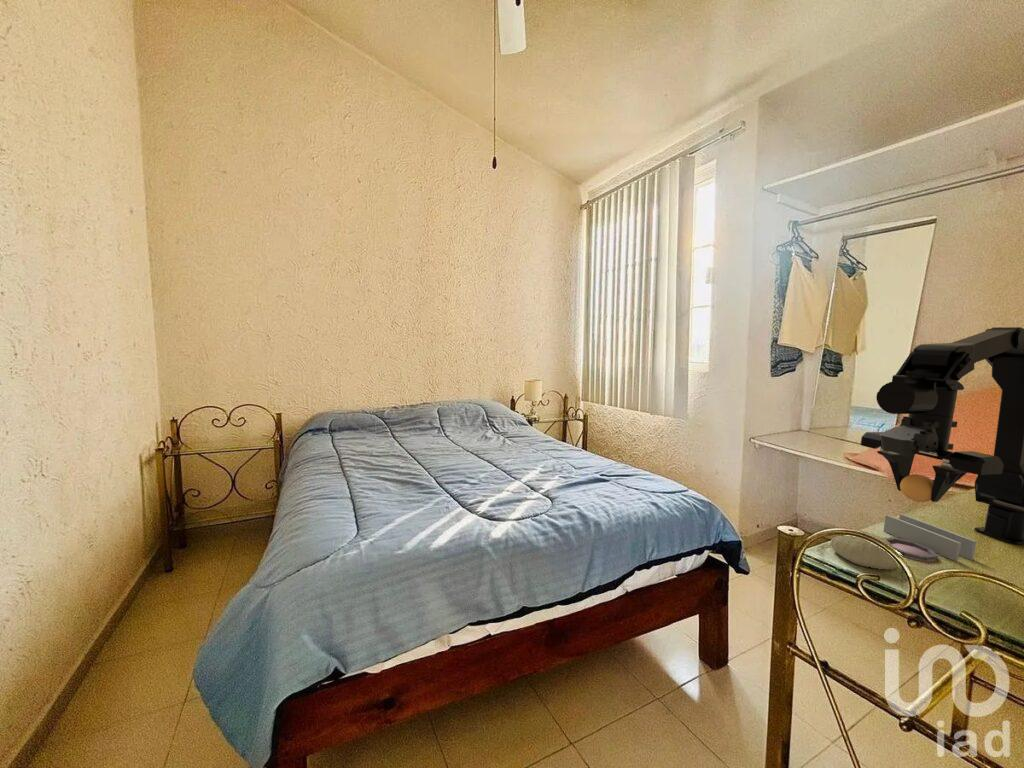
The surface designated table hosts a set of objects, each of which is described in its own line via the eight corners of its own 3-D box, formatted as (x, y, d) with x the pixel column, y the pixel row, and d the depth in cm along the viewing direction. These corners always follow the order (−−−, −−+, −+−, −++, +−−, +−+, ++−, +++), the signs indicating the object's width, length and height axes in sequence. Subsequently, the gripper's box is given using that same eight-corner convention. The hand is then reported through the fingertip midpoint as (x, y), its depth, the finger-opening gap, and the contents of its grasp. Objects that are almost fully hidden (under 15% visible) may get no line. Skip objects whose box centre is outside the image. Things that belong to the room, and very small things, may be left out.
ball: (910, 495, 81) (914, 470, 81) (942, 505, 76) (946, 479, 76) (891, 496, 80) (895, 471, 79) (922, 507, 75) (926, 480, 74)
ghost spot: (900, 539, 84) (900, 536, 84) (947, 559, 76) (947, 555, 76) (871, 542, 82) (871, 538, 82) (916, 563, 75) (917, 559, 74)
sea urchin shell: (846, 532, 82) (885, 516, 76) (875, 574, 77) (919, 561, 71) (815, 538, 78) (853, 522, 73) (843, 582, 74) (886, 570, 68)
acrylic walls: (899, 529, 89) (902, 513, 88) (973, 559, 77) (976, 541, 77) (883, 531, 88) (885, 515, 87) (955, 561, 76) (958, 543, 76)
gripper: (844, 404, 83) (834, 480, 85) (965, 424, 65) (948, 520, 67) (887, 405, 86) (875, 478, 88) (1013, 424, 68) (996, 516, 70)
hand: (917, 495), depth 78 cm, fingers closed on ball, 5 cm apart
